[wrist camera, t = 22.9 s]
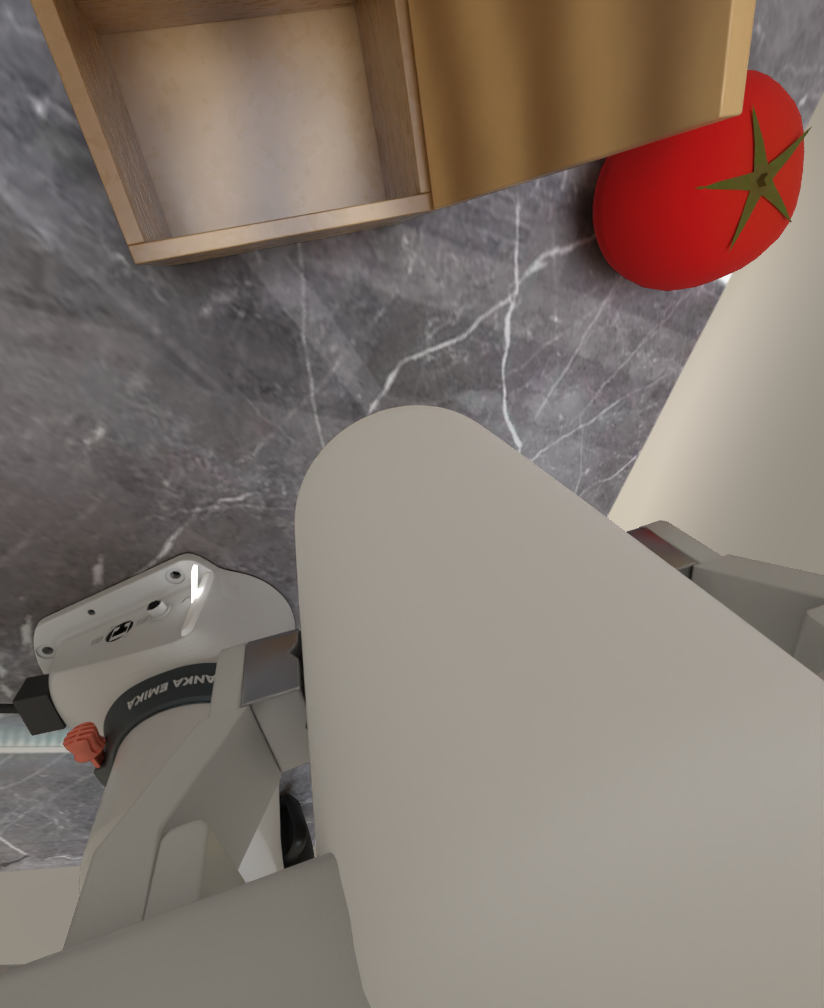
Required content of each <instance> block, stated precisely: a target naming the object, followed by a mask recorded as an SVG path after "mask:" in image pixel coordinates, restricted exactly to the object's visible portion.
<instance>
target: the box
mask: <svg viewBox="0 0 824 1008" xmlns="http://www.w3.org/2000/svg"><path fill="white" fill-rule="evenodd" d="M30 1H31V4H32V7H33V9H34V12H35V14H36V17H37V19H38V22H39V24H40V27H41V29H42V32H43V34H44V37H45V39H46V42H47V44H48V47H49V49H50V52H51V54H52V57H53V59H54V62H55V64H56V67H57V69H58V72H59V74H60V77H61V79H62V82H63V85H64V87H65V90H66V92H67V95H68V97H69V100H70V102H71V105H72V107H73V110H74V112H75V115H76V117H77V120H78V122H79V125H80V127H81V130H82V132H83V135H84V137H85V140H86V142H87V145H88V147H89V150H90V152H91V155H92V157H93V160H94V163H95V165H96V168H97V170H98V173H99V175H100V178H101V180H102V183H103V185H104V188H105V190H106V193H107V195H108V198H109V200H110V203H111V205H112V208H113V210H114V213H115V215H116V218H117V220H118V223H119V225H120V228H121V230H122V233H123V235H124V238H125V240H126V243H127V245H129V246H128V248H129V250H130V253H131V255H132V258H133V260H134V263H135V264H136V265H158V266H175V265H181V264H186V263H191V262H197V261H202V260H208V259H213V258H218V257H224V256H229V255H235V254H240V253H246V252H251V251H256V250H262V249H267V248H273V247H278V246H283V245H289V244H294V243H300V242H305V241H311V240H316V239H321V238H327V237H332V236H338V235H343V234H348V233H354V232H359V231H365V230H370V229H376V228H381V227H386V226H392V225H397V224H400V223H403V222H406V221H408V220H411V219H414V218H416V217H419V216H422V215H424V214H427V213H429V212H432V211H435V210H437V209H434V204H433V196H432V188H431V180H430V172H429V164H428V156H427V148H426V140H425V132H424V124H423V116H422V108H421V100H420V92H419V84H418V76H417V68H416V60H415V52H414V44H413V36H412V28H411V20H410V12H409V4H408V0H30Z"/></svg>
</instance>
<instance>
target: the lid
mask: <svg viewBox="0 0 824 1008" xmlns="http://www.w3.org/2000/svg"><path fill="white" fill-rule="evenodd" d="M408 4H409V12H410V20H411V28H412V36H413V44H414V52H415V60H416V68H417V76H418V84H419V92H420V100H421V108H422V116H423V124H424V132H425V140H426V148H427V156H428V164H429V172H430V180H431V188H432V196H433V204H434V209H441V208H446V207H449V206H453V205H456V204H459V203H462V202H465V201H469V200H472V199H475V198H478V197H481V196H484V195H488V194H491V193H494V192H497V191H500V190H503V189H507V188H510V187H513V186H516V185H519V184H522V183H526V182H529V181H532V180H535V179H538V178H541V177H545V176H548V175H551V174H554V173H557V172H561V171H564V170H567V169H570V168H573V167H576V166H580V165H583V164H586V163H589V162H592V161H595V160H599V159H602V158H605V157H608V156H611V155H614V154H618V153H621V152H624V151H627V150H630V149H633V148H637V147H640V146H643V145H646V144H649V143H653V142H656V141H659V140H662V139H665V138H668V137H672V136H675V135H678V134H681V133H684V132H687V131H691V130H694V129H697V128H700V127H703V126H706V125H710V124H713V123H716V122H719V121H722V120H726V119H729V118H732V117H735V116H738V115H740V114H741V113H742V108H743V100H744V92H745V84H746V77H747V69H748V61H749V53H750V45H751V37H752V29H753V21H754V13H755V5H756V0H408Z"/></svg>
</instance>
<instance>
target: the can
mask: <svg viewBox="0 0 824 1008" xmlns="http://www.w3.org/2000/svg"><path fill="white" fill-rule="evenodd" d="M295 544H296V562H297V578H298V594H299V609H300V624H301V639H302V654H303V668H304V683H305V697H306V712H307V726H308V740H309V754H310V768H311V782H312V796H313V810H314V823H315V837H316V850H317V857H318V856H321V855H324V854H326V853H329V852H330V853H332V854H334V856H335V858H336V860H337V864H338V868H339V873H340V878H341V883H342V887H343V891H344V895H345V899H346V903H347V907H348V911H349V916H350V921H351V929H352V936H353V943H354V950H355V955H356V960H357V964H358V969H359V974H360V978H361V983H362V987H363V992H364V994H365V996H366V998H367V1000H368V1002H369V1005H370V1007H371V1008H824V681H823V680H822V679H821V678H819V677H818V676H817V675H815V674H814V673H813V672H812V671H810V670H809V669H808V668H806V667H805V666H804V665H802V664H801V663H800V662H798V661H797V660H796V659H794V658H793V657H792V656H790V655H789V654H788V653H786V652H785V651H784V650H783V649H781V648H780V647H779V646H777V645H776V644H775V643H773V642H772V641H771V640H769V639H768V638H767V637H765V636H764V635H763V634H761V633H760V632H759V631H757V630H756V629H755V628H753V627H752V626H751V625H750V624H748V623H747V622H746V621H744V620H743V619H742V618H740V617H739V616H738V615H736V614H735V613H734V612H732V611H731V610H730V609H728V608H727V607H726V606H724V605H723V604H722V603H720V602H719V601H718V600H716V599H715V598H714V597H712V596H711V595H710V594H708V593H707V592H706V591H704V590H703V589H702V588H700V587H699V586H698V585H696V584H695V583H694V582H692V581H691V580H690V579H688V578H687V577H686V576H684V575H683V574H682V573H680V572H679V571H678V570H676V569H675V568H674V567H672V566H671V565H670V564H668V563H667V562H666V561H664V560H663V559H662V558H660V557H659V556H658V555H656V554H655V553H654V552H652V551H651V550H650V549H648V548H647V547H646V546H644V545H643V544H642V543H640V542H639V541H638V540H636V539H635V538H634V537H632V536H631V535H630V534H628V533H627V532H625V531H624V530H623V529H621V528H620V527H619V526H617V525H616V524H615V523H613V522H612V521H611V520H609V519H608V518H607V517H605V516H604V515H603V514H601V513H600V512H599V511H597V510H596V509H595V508H593V507H592V506H591V505H589V504H588V503H587V502H585V501H584V500H583V499H581V498H580V497H579V496H577V495H576V494H574V493H573V492H572V491H570V490H569V489H568V488H566V487H565V486H564V485H562V484H561V483H560V482H558V481H557V480H556V479H554V478H553V477H552V476H550V475H549V474H547V473H546V472H545V471H543V470H542V469H541V468H539V467H538V466H537V465H535V464H534V463H533V462H531V461H530V460H529V459H527V458H526V457H524V456H523V455H522V454H520V453H519V452H518V451H516V450H515V449H514V448H512V447H511V446H509V445H508V444H507V443H505V442H504V441H503V440H501V439H500V438H498V437H497V436H496V435H494V434H493V433H491V432H490V431H489V430H487V429H486V428H484V427H483V426H481V425H480V424H478V423H477V422H475V421H474V420H472V419H470V418H468V417H466V416H464V415H462V414H460V413H457V412H455V411H451V410H448V409H445V408H440V407H434V406H425V405H411V406H401V407H395V408H390V409H386V410H383V411H379V412H377V413H374V414H371V415H369V416H367V417H365V418H362V419H360V420H359V421H357V422H355V423H353V424H352V425H350V426H349V427H347V428H346V429H344V430H343V431H341V432H340V433H339V434H338V435H336V436H335V437H334V438H333V439H332V440H331V441H330V442H329V443H328V444H327V445H326V446H325V447H324V448H323V449H322V450H321V452H320V453H319V454H318V455H317V457H316V458H315V460H314V461H313V463H312V464H311V466H310V467H309V469H308V471H307V473H306V475H305V477H304V479H303V482H302V484H301V487H300V490H299V494H298V498H297V503H296V510H295Z"/></svg>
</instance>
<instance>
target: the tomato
mask: <svg viewBox="0 0 824 1008" xmlns="http://www.w3.org/2000/svg"><path fill="white" fill-rule="evenodd" d="M809 130H810V128H809V129H808V130H807V131H806V132H805V133H804V132H803V126H802V120H801V115H800V113H799V111H798V108H797V106H796V104H795V102H794V100H793V99H792V98H791V97H790V96H789V94H788V93H787V92H786V91H785V90H784V89H783V88H782V86H781V85H780V84H779V83H777V82H776V81H775V80H773V79H772V78H771V77H769V76H768V75H766V74H763V73H760V72H758V71H755V70H747V77H746V84H745V92H744V100H743V108H742V113H741V114H740V115H738V116H735V117H732V118H729V119H726V120H722V121H719V122H716V123H713V124H710V125H706V126H703V127H700V128H697V129H694V130H691V131H687V132H684V133H681V134H678V135H675V136H672V137H668V138H665V139H662V140H659V141H656V142H653V143H649V144H646V145H643V146H640V147H637V148H633V149H630V150H627V151H624V152H621V153H618V154H614V155H611V156H608V157H607V158H606V160H605V162H604V164H603V166H602V168H601V170H600V174H599V177H598V180H597V184H596V187H595V194H594V201H593V225H594V230H595V235H596V240H597V242H598V245H599V247H600V249H601V252H602V254H603V255H604V257H605V259H606V260H607V262H608V263H609V265H610V266H611V267H612V268H613V269H614V270H615V271H617V272H618V273H619V274H620V275H622V276H623V277H624V278H626V279H628V280H630V281H632V282H634V283H636V284H638V285H640V286H642V287H645V288H651V289H657V290H664V291H672V290H679V289H685V288H692V287H697V286H700V285H703V284H706V283H709V282H712V281H714V280H716V279H719V278H721V277H723V276H726V275H728V274H730V273H732V272H735V271H737V270H739V269H741V268H743V267H744V266H745V265H747V264H749V263H750V262H752V261H753V260H755V259H756V258H757V257H758V256H760V255H761V254H762V253H763V252H764V251H765V250H766V249H767V248H768V247H769V246H770V245H771V244H773V243H774V242H775V241H776V240H777V239H778V238H779V237H780V235H781V234H782V232H783V231H784V229H785V228H786V226H787V225H788V224H789V222H791V220H790V219H791V217H792V215H793V212H794V210H795V207H796V204H797V200H798V196H799V192H800V188H801V180H802V173H803V160H804V137H805V136H806V134H807V133H808V131H809Z"/></svg>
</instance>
